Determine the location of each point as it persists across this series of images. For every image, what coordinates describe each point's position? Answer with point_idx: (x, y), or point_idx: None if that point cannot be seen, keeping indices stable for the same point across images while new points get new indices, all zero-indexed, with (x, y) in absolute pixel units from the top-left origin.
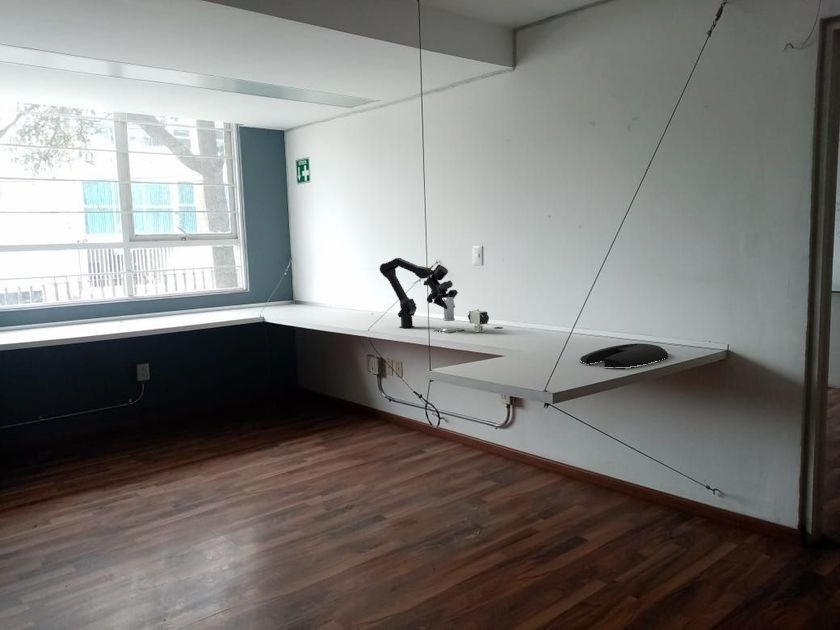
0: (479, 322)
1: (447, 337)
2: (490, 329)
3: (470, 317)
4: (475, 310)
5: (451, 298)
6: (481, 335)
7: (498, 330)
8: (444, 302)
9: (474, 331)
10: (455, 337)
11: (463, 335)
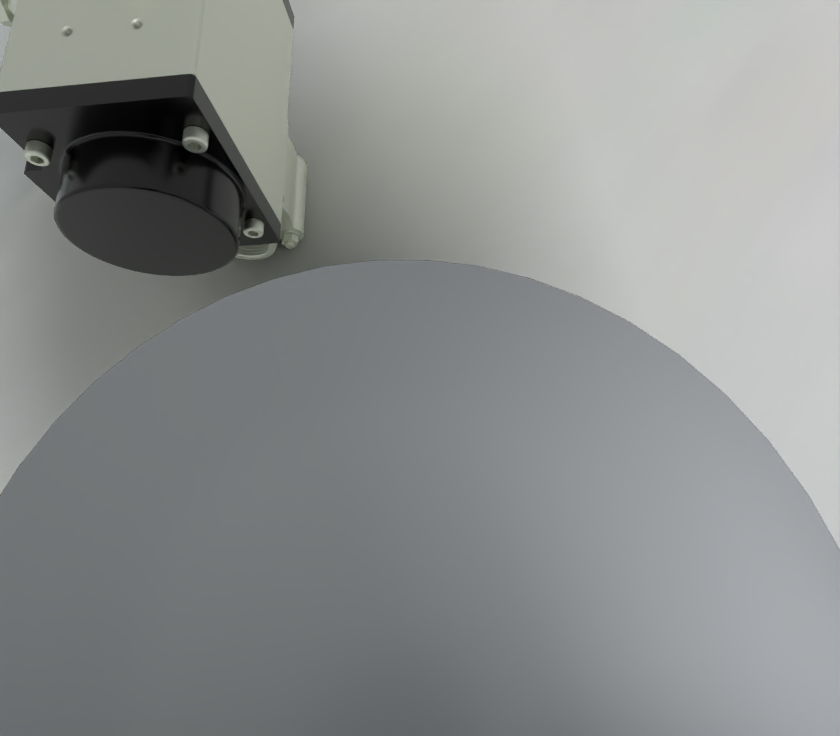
0: (285, 11)
1: (817, 153)
2: (9, 286)
3: (248, 157)
4: (16, 105)
5: (381, 277)
6: (403, 26)
7: (24, 166)
8: None
9: (303, 229)
10: (727, 94)
11: (559, 146)
